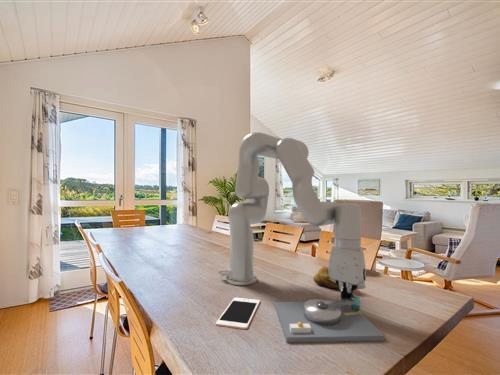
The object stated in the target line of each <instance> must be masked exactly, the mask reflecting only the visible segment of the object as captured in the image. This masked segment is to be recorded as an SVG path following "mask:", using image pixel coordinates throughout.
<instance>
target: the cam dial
mask: <svg viewBox="0 0 500 375" xmlns="http://www.w3.org/2000/svg"><path fill="white" fill-rule="evenodd" d="M304 302H305V303H304V316H305V317H306V318H307V319H308V320H309V321H311V322H314V323H317V324H321V325H334V324H337V323H339V322H340V321H341V307H340V306H345V305H351V309H352V310H354V311H359V312H361V297H360V296H359V295H353V296H351V298H346V299H341V298H338V299H332V300H331V299H330V300H327V299H320V298H318V299H317V298H316V299H315V298H313V299H309V300H307V301H304Z"/></svg>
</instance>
